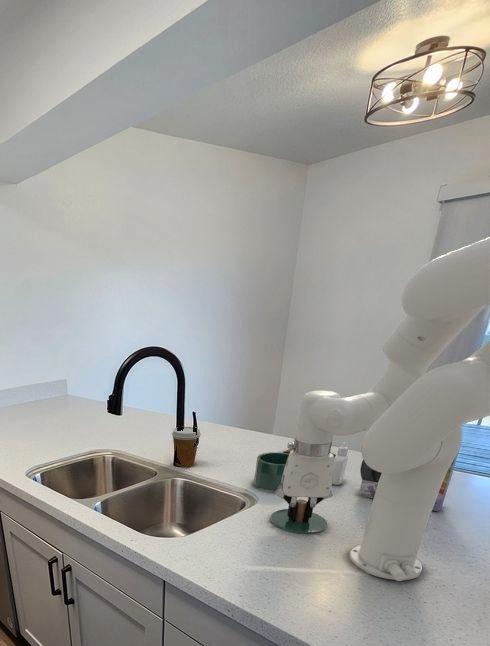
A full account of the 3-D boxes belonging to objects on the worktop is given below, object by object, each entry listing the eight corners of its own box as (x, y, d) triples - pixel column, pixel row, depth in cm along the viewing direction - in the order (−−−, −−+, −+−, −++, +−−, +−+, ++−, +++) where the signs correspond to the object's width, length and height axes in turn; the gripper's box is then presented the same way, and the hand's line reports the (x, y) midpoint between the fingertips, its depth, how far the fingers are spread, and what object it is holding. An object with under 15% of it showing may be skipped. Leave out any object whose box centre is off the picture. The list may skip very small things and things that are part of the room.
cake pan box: (353, 495, 121) (368, 432, 113) (358, 489, 124) (374, 428, 116) (438, 513, 108) (462, 445, 100) (442, 507, 111) (465, 440, 103)
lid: (332, 537, 101) (338, 513, 98) (275, 535, 103) (279, 511, 101) (317, 513, 112) (322, 491, 109) (266, 512, 114) (269, 490, 111)
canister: (299, 493, 123) (304, 465, 120) (257, 492, 126) (260, 464, 122) (290, 479, 133) (295, 452, 129) (251, 478, 136) (254, 452, 132)
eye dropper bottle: (349, 482, 129) (358, 443, 123) (335, 486, 127) (344, 446, 121) (336, 477, 132) (344, 439, 127) (322, 481, 130) (330, 442, 125)
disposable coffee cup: (165, 462, 153) (166, 428, 147) (188, 458, 156) (190, 424, 150) (180, 470, 145) (181, 435, 139) (204, 465, 148) (207, 431, 142)
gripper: (277, 452, 97) (266, 525, 105) (356, 453, 94) (338, 528, 102) (271, 442, 103) (261, 512, 112) (345, 442, 100) (329, 514, 109)
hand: (298, 519), depth 107 cm, fingers closed on lid, 2 cm apart
